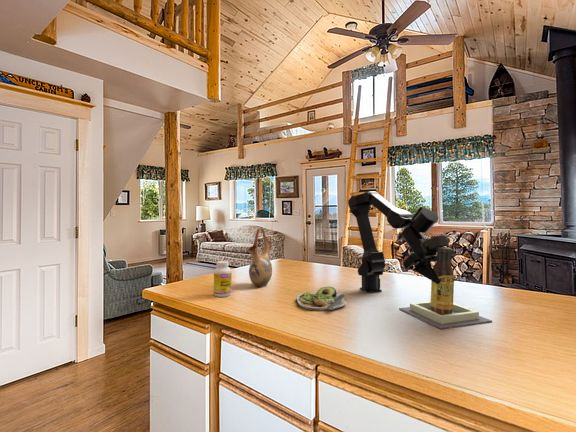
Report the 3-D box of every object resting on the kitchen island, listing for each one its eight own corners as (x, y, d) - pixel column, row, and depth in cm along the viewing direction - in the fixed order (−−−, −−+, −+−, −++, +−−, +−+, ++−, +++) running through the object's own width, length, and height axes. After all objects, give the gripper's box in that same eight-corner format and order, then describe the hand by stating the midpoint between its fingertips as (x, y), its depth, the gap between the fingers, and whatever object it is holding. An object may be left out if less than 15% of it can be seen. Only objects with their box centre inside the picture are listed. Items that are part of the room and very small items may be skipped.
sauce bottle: (436, 316, 94) (437, 249, 94) (426, 309, 101) (426, 246, 100) (458, 315, 95) (458, 248, 94) (446, 308, 101) (447, 246, 100)
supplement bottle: (219, 298, 118) (219, 263, 118) (210, 295, 123) (210, 261, 123) (235, 295, 123) (234, 261, 122) (226, 291, 128) (225, 259, 127)
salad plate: (355, 314, 101) (355, 299, 101) (298, 315, 100) (298, 300, 100) (342, 297, 120) (342, 284, 120) (295, 297, 119) (295, 285, 119)
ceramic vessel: (261, 280, 147) (261, 226, 146) (279, 282, 143) (278, 226, 142) (241, 288, 132) (240, 228, 131) (259, 291, 128) (259, 229, 127)
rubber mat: (440, 329, 86) (440, 327, 86) (399, 309, 104) (399, 308, 104) (492, 321, 92) (492, 320, 92) (444, 304, 109) (444, 302, 109)
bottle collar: (441, 324, 89) (441, 316, 89) (409, 309, 102) (409, 303, 102) (478, 318, 93) (478, 312, 93) (444, 305, 106) (444, 299, 106)
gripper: (410, 226, 96) (442, 269, 87) (451, 224, 105) (484, 263, 95) (391, 249, 104) (418, 291, 94) (430, 245, 112) (459, 284, 102)
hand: (446, 282), depth 96 cm, fingers closed on sauce bottle, 6 cm apart
